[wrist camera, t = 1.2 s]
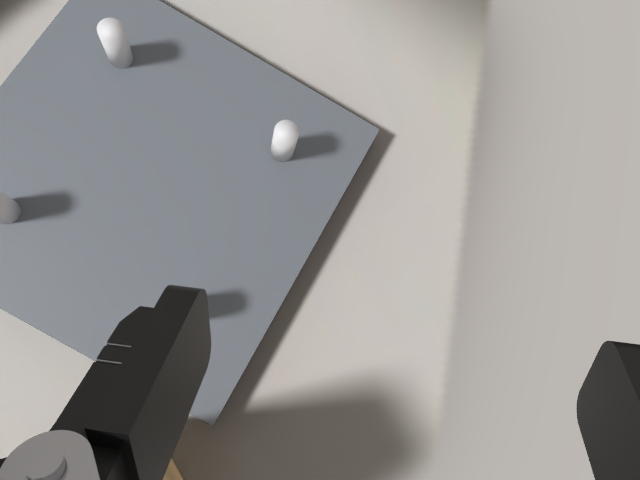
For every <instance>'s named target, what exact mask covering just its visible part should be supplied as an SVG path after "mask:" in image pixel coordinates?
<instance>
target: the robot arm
mask: <svg viewBox="0 0 640 480" xmlns="http://www.w3.org/2000/svg"><path fill="white" fill-rule="evenodd" d="M210 354H211V332H210V321H209V310H208V300H207V293H206V290H205V289H201V288H193V287H185V286H177V285H168V286H167V287H166V288H165V289H164V291H163V293H162V294H161V296H160V298H159V300H158V301H157V303H156V305H155V307H154V308H152V307H144V306H139V307H138V308H137V309H135V310H134V311H133V312H132V313H130V314H129V315H128V316H126V317H125V318H124V319H123V320H121V321H120V322H119V323H118V325H117V327H116V328H115V330H114V331H113V333H112V334H111V336H110V338H109V339H108V341H107V345H106V346H104V347H103V349H102V350H101V352H100V353H99V355H98V356H97V360H96V362H94V363H93V364H92V366H91V368H90V369H89V371H88V372H87V374H86V375H85V377H84V379H83V380H82V382H81V383H80V385H79V386H78V388H77V390H76V391H75V393H74V394H73V396H72V397H71V399H70V401H69V402H68V404H67V405H66V407H65V408H64V410H63V412H62V413H61V415H60V416H59V418H58V419H57V421H56V423H55V424H54V425H53V427H52V428H51V429H50V430H49V431H48V432H45V433H42V434H39V435H36V436H34V437H32V438H30V439H28V440H27V441H25V442H24V443H22V444H21V445H19V446H18V447H17V448H16V449H15V450H14V451H13V452H11V454H10V455H9V456H8V457H6V458H3V459H0V480H163V478H164V475H165V473H166V470H167V468H168V465H169V463H170V460H171V458H172V455H173V453H174V450H175V448H176V445H177V443H178V440H179V438H180V435H181V433H182V430H183V428H184V425H185V423H186V420H187V418H188V415H189V413H190V410H191V408H192V405H193V403H194V400H195V398H196V395H197V393H198V391H199V388H200V386H201V383H202V381H203V378H204V376H205V373H206V370H207V368H208V364H209V360H210ZM577 419H578V424H579V427H580V431H581V434H582V437H583V441H584V444H585V447H586V450H587V454H588V457H589V461H590V464H591V467H592V470H593V474H594V477H595V480H640V345H637V344H629V343H621V342H614V341H606V342H605V343H603V344H602V346H601V348H600V350H599V352H598V354H597V356H596V358H595V360H594V362H593V364H592V367H591V368H590V370H589V373H588V375H587V377H586V379H585V381H584V383H583V385H582V387H581V389H580V392H579V395H578V400H577Z"/></svg>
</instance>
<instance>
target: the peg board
mask: <svg viewBox="0 0 640 480" xmlns="http://www.w3.org/2000/svg"><path fill="white" fill-rule="evenodd" d="M379 130H380V129H378V128H377V127H375V126H373V125H372V124H370V123H368V122H367V121H365V120H363V119H361V118H360V117H358V116H356V115H355V114H353V113H351V112H349V111H348V110H346V109H344V108H343V107H341V106H339V105H337V104H336V103H334V102H332V101H331V100H329V99H327V98H326V97H324V96H322V95H320V94H319V93H317V92H315V91H314V90H312V89H310V88H308V87H307V86H305V85H303V84H302V83H300V82H298V81H296V80H295V79H293V78H291V77H290V76H288V75H286V74H285V73H283V72H281V71H279V70H278V69H276V68H274V67H273V66H271V65H269V64H267V63H266V62H264V61H262V60H261V59H259V58H257V57H255V56H254V55H252V54H250V53H249V52H247V51H245V50H244V49H242V48H240V47H238V46H237V45H235V44H233V43H232V42H230V41H228V40H226V39H225V38H223V37H221V36H220V35H218V34H216V33H215V32H213V31H211V30H209V29H208V28H206V27H204V26H203V25H201V24H199V23H197V22H196V21H194V20H192V19H191V18H189V17H187V16H185V15H184V14H182V13H180V12H179V11H177V10H175V9H174V8H172V7H170V6H168V5H167V4H165V3H163V2H162V1H160V0H69V1H68V2H67V4H66V5H65V6H64V7H63V9H62V10H61V11H60V12H59V14H58V15H57V16H56V17H55V19H54V20H53V21H52V22H51V24H50V25H49V26H48V27H47V29H46V30H45V31H44V32H43V34H42V35H41V36H40V37H39V39H38V40H37V41H36V42H35V44H34V45H33V46H32V47H31V49H30V50H29V51H28V52H27V54H26V55H25V56H24V58H23V59H22V60H21V61H20V63H19V64H18V65H17V66H16V68H15V69H14V70H13V71H12V73H11V74H10V75H9V76H8V78H7V79H6V80H5V81H4V83H3V84H2V85H1V86H0V309H2V310H4V311H6V312H8V313H9V314H11V315H13V316H15V317H17V318H18V319H20V320H22V321H24V322H26V323H27V324H29V325H31V326H33V327H35V328H36V329H38V330H40V331H42V332H44V333H46V334H47V335H49V336H51V337H53V338H55V339H56V340H58V341H60V342H62V343H64V344H65V345H67V346H69V347H71V348H73V349H74V350H76V351H78V352H80V353H82V354H83V355H85V356H87V357H89V358H91V359H92V360H94V361H96V360H97V356H98V355H99V353H100V352H101V350H102V349H103V347H104V346H106V345H107V341H108V339H109V338H110V336H111V334H112V333H113V331H114V330H115V328H116V327H117V325H118V323H119V322H120V321H121V320H123V319H124V318H125V317H126V316H128V315H129V314H130V313H132V312H133V311H134V310H135V309H137V308H138V307H139V306H144V307H152V308H154V307H155V305H156V303H157V301H158V300H159V298H160V296H161V294H162V293H163V291H164V289H165V288H166V287H167V286H168V285H177V286H185V287H193V288H201V289H205V290H206V293H207V300H208V310H209V321H210V332H211V354H210V360H209V364H208V368H207V370H206V373H205V376H204V378H203V381H202V383H201V386H200V388H199V391H198V393H197V395H196V398H195V400H194V403H193V405H192V408H191V410H190V414H192V415H193V416H195V417H197V418H199V419H201V420H203V421H204V422H206V423H208V424H210V425H212V426H213V425H214V423H215V421H216V420H217V418H218V416H219V414H220V413H221V411H222V409H223V407H224V405H225V404H226V402H227V400H228V398H229V397H230V395H231V393H232V391H233V389H234V388H235V386H236V384H237V382H238V381H239V379H240V377H241V375H242V373H243V372H244V370H245V368H246V366H247V365H248V363H249V361H250V359H251V357H252V356H253V354H254V352H255V350H256V349H257V347H258V345H259V343H260V341H261V340H262V338H263V336H264V334H265V333H266V331H267V329H268V327H269V325H270V324H271V322H272V320H273V318H274V317H275V315H276V313H277V311H278V309H279V308H280V306H281V304H282V302H283V301H284V299H285V297H286V295H287V293H288V292H289V290H290V288H291V286H292V285H293V283H294V281H295V279H296V277H297V276H298V274H299V272H300V270H301V269H302V267H303V265H304V263H305V261H306V260H307V258H308V256H309V254H310V253H311V251H312V249H313V247H314V245H315V244H316V242H317V240H318V238H319V237H320V235H321V233H322V231H323V229H324V228H325V226H326V224H327V222H328V221H329V219H330V217H331V215H332V213H333V212H334V210H335V208H336V206H337V205H338V203H339V201H340V199H341V197H342V196H343V194H344V192H345V190H346V188H347V187H348V185H349V183H350V181H351V180H352V178H353V176H354V174H355V172H356V171H357V169H358V167H359V165H360V164H361V162H362V160H363V158H364V156H365V155H366V153H367V151H368V149H369V148H370V146H371V144H372V142H373V140H374V139H375V137H376V135H377V133H378V132H379Z"/></svg>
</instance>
